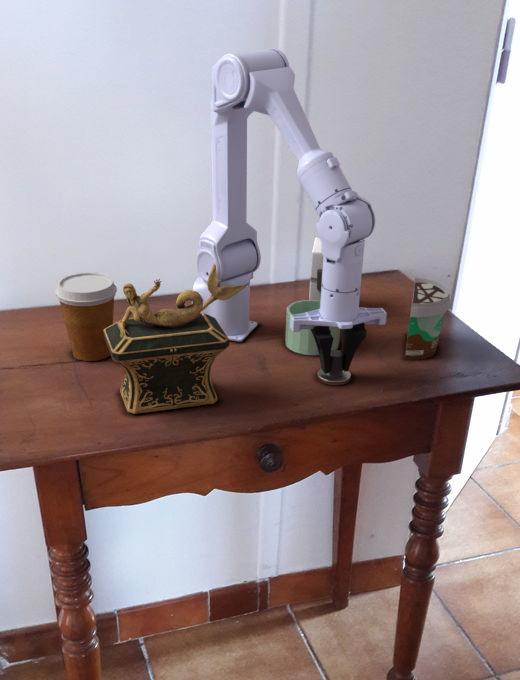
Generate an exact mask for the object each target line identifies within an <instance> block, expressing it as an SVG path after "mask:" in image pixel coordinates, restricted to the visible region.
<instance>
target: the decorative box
mask: <svg viewBox="0 0 520 680" xmlns="http://www.w3.org/2000/svg"><path fill="white" fill-rule="evenodd" d="M160 280H161V278H156V281H155V280H153V283H154V286H152V287H151V288H150V289H148V290H147V291H146V292H143V293H142V294H141V295H138V293H137V290H136V288H135V286H134V285H133V284H132V283H125V284H124V285H123V288H122V292H123V294H124V296H125V300H126V303H127V304H128V305H129V306H128V307H126V308H127V309H126V311H125V314H124V315H123V318H122V319H119V320H118V321H116V322H113V324H112V325H111V326H109V327H107V328H105V329H104V330H103V334H104V338H105V341H106V343H107V346H108V349H109V351H110V354H111V355H110V356H111V359H112V361H114V362H115V363H117V364H118V365H119V366H120V367H122V368H123V369H124V378H123V381H122V384H121V386H120V389H119V393H120V394H121V398H122V400H123V403H124V406H125V408H126V412H127V413H131V414H134V415H136V414H137V415H139V414H144V413H152V412H160V411H167V410H168V411H169V410H175V409H182V408H190V407H198V406H206V405H213V404H215V403H216V402H218V396H217V393H216V390H215V388H214V386H213V382H212V376H211V371H212V366H213V363H214V361H215V359H217V357H218V356H219V355H220V354H221V353H223V352H224V351H225V350H226V349H228V348H229V347H230V340H229V338H228V337H227V335H226V334H225V332H224V331H223V329H222V328H221V326H220V324H219V323H218V321H217V320H216V318H214V317H212V316H210V315H207V314H205V313H203V312H201V311H203V310H204V309H205V308H206V307H207V306H208V305H210V304H211V303H212V302H214V301H215V300H217V299H219V300H227V299H229V298H231V297H232V296H234V295H235V294H237V293H238V292H239V291H241V290H242V289H244V288H245V287H246V286H224V287H221V288H220V289H218V288H217V287H218V277H217V269H216V265H215V263H214V264H213V266H212V269H211V272H210V275H209V277H208V280H207V288H208V290H209V292H210V293H211V296H210V297H209V298H208V300H207V301H206V302H205V303H204V304H203V299H202V297H201V295H200V294H199V293H198V292H196V291H193V289H186V290H184V291H182V292H180V293H179V295H178V296H177V298H176V300H175V304H176V307H177V308H163V309H160V310H157V312H155V313H153V311H152V309H151V306H150V303H149V301H148V298H150V297H151V296H152V295H153V294H154V293H156V292H157V291H158V290H159V289H160V287H161V283H162V280H161V281H160ZM187 301H191V304H189V305H187V306H186V305H185V303H187ZM192 302H193V304H192ZM131 315H132V316H133V317H130V316H131Z"/></svg>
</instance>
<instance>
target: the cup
mask: <svg viewBox="0 0 520 680" xmlns="http://www.w3.org/2000/svg"><path fill="white" fill-rule="evenodd" d="M320 301H321V300H309V299H301V300H296V301H294V302H292V303H290V304H289V305H287V307H286V314H285V315H286V316H285V334H284V335H285V336H284V338H285V339H284V341H285V342H284V344H285V346H286V348H287V349H289V350H290V351H292V352H294V353H297V354H300V355H303V356H304V355H305V356H319V352H318V348H317V345H316V342H315V339H314V336H313V334H312V332H311V329H303V330H300V331H299V332H293V331H292V330H291V328H290V315H296V314H301V313H306V312H310V311H314V310H318V309H320ZM329 330H331V335H332V336H333V338H334V339H333V343H332V347H331V350H338V348H339V347H340V339H341V338H340V336H341V329H340V328H339V327H329Z"/></svg>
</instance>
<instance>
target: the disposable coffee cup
mask: <svg viewBox="0 0 520 680" xmlns="http://www.w3.org/2000/svg"><path fill="white" fill-rule="evenodd" d="M117 291H118V288H117V286H116V285H115V283H114V280H113V278H112V277H111V276H110V275H107V274H105V273H100V272H93V271H91V272H89V271H87V272H85V271H84V272H77V273H75V272H74V273H71V274H68V275H65V276H63V277H61V278H60V279H59V280H58V281H57V284H56V288H55V291H54V293H55V296H56V297H57V299H58V301H59V305H60V308H61V313H62V316H63V319H64V324H65V328H66V333H67V336H68V341H69V344H70V348H71V353H72V355H73V358H75V359H77V360H80V361H84V362H96V361H97V362H98V361H102V360H105V359H106V358H109V357H110V356H111V354H110V351H109V349H108V346H107V343H106V341H105V338H104V334H103V330H104V329H105V328H107V327H109V326H111V325H112V324H114V312H115V311H114V310H115V297H116V293H117Z"/></svg>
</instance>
